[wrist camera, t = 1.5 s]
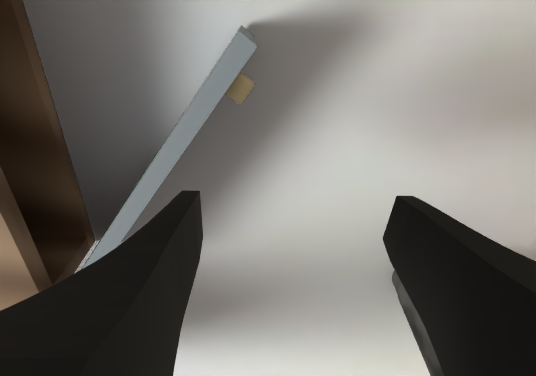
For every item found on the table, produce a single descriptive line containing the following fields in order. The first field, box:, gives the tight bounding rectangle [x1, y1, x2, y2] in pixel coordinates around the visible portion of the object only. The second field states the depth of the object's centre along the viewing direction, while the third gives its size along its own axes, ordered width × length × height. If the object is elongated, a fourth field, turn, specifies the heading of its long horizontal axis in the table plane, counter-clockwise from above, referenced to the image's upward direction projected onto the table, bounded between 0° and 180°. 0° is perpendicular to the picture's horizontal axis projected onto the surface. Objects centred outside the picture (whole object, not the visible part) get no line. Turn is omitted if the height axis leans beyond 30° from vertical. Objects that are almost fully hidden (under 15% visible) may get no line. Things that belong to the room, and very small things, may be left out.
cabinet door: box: [82, 25, 257, 269], centre depth 16 cm, size 18×2×6 cm, turn 142°
